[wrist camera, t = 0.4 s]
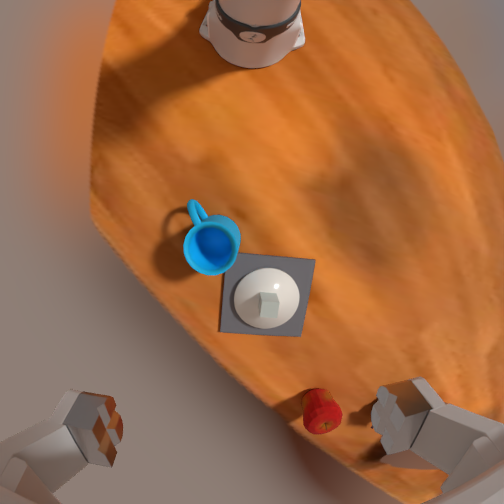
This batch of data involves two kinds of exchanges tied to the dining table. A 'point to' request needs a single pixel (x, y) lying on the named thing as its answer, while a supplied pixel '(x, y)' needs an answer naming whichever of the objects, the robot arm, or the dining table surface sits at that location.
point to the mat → (247, 262)
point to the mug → (210, 241)
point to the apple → (320, 411)
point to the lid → (266, 297)
